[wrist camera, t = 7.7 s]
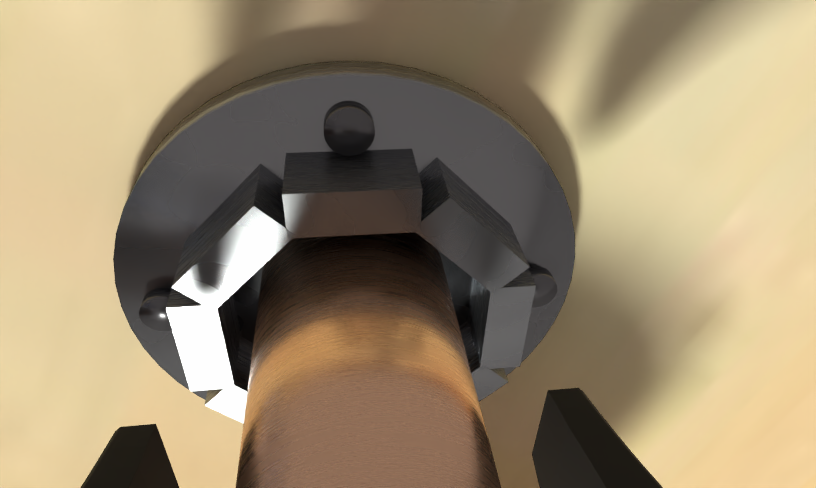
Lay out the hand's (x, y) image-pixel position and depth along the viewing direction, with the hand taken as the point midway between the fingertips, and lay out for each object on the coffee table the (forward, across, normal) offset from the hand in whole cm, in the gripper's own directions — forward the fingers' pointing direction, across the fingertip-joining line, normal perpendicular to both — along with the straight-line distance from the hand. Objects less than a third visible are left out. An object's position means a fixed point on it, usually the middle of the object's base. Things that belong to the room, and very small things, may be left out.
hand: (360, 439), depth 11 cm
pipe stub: (+4, 0, 0) cm, 4 cm away
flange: (+5, 0, 0) cm, 5 cm away
